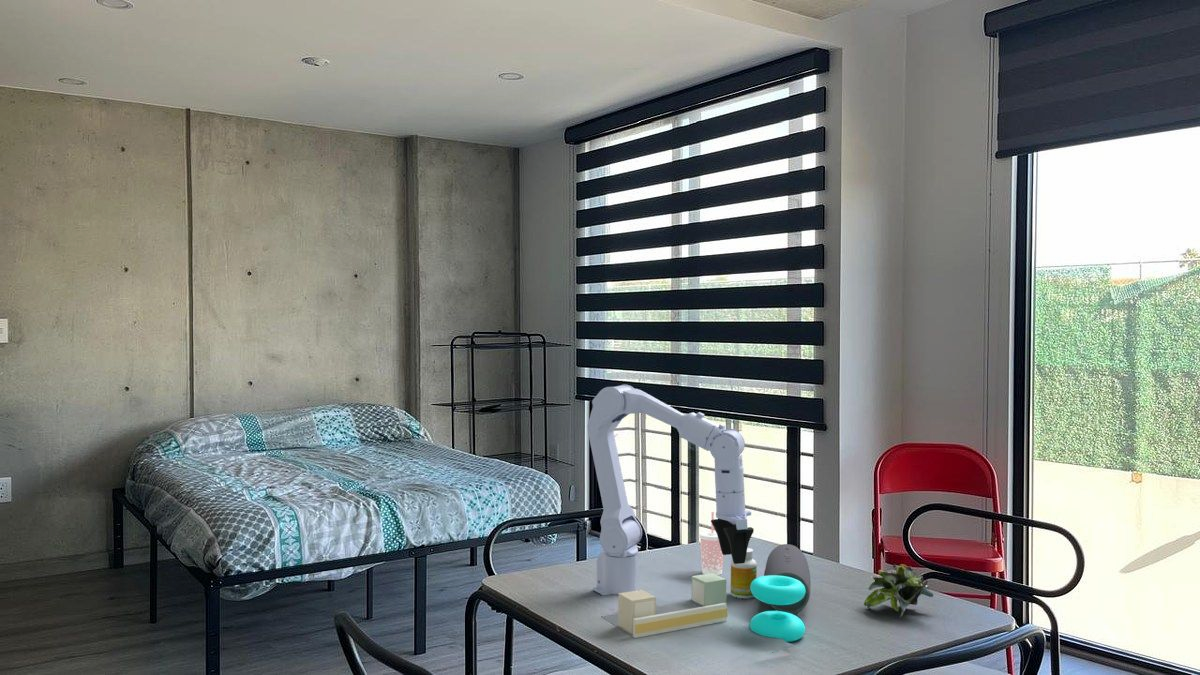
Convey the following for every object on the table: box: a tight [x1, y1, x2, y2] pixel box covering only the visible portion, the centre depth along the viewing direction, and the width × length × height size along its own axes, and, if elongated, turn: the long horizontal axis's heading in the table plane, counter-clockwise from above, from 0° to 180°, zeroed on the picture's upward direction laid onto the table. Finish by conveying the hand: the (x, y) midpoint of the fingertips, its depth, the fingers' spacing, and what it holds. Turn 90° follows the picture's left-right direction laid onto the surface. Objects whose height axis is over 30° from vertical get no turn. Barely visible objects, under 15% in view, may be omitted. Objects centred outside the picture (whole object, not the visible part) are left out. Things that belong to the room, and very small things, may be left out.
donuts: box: [749, 575, 806, 643], centre depth 162 cm, size 10×10×10 cm
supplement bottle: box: [730, 547, 758, 600], centre depth 185 cm, size 5×5×10 cm
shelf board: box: [600, 601, 728, 639], centre depth 167 cm, size 13×20×4 cm, turn 118°
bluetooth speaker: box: [763, 543, 812, 615], centre depth 181 cm, size 23×9×10 cm, turn 168°
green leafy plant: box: [863, 563, 934, 618], centre depth 175 cm, size 11×11×12 cm
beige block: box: [617, 589, 657, 634], centre depth 162 cm, size 5×5×6 cm
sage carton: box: [691, 573, 727, 607], centre depth 178 cm, size 5×5×6 cm
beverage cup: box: [698, 511, 724, 576], centre depth 202 cm, size 6×6×14 cm
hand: (733, 558), depth 176 cm, fingers open, 7 cm apart
